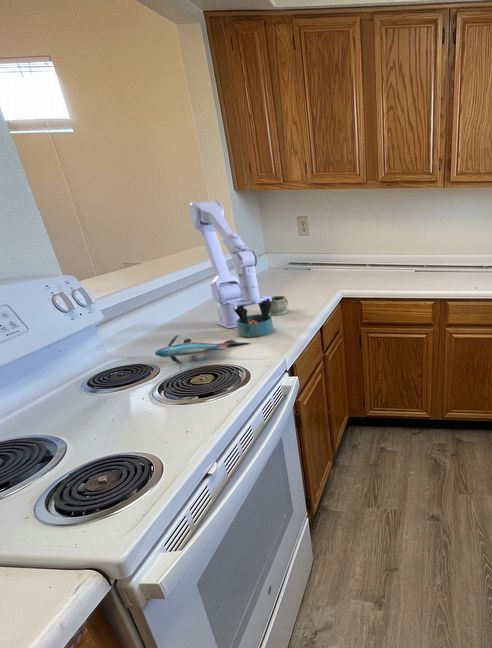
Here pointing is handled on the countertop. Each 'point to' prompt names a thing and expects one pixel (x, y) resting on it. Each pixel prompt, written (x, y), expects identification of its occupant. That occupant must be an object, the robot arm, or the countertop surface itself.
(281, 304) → the vessel
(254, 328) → the teal pet bowl
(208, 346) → the fish
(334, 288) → the countertop surface
